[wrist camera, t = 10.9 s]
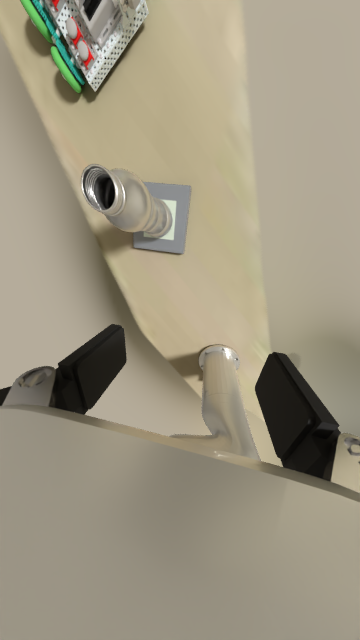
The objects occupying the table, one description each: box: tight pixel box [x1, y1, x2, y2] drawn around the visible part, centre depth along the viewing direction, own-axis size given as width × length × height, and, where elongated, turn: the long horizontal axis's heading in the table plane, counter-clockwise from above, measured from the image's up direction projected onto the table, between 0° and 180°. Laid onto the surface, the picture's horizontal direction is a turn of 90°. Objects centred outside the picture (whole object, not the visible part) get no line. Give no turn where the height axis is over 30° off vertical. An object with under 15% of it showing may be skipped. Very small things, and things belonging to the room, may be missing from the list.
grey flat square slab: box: [133, 182, 191, 254], centre depth 32 cm, size 12×12×2 cm
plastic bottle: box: [81, 164, 173, 238], centre depth 23 cm, size 6×7×20 cm
